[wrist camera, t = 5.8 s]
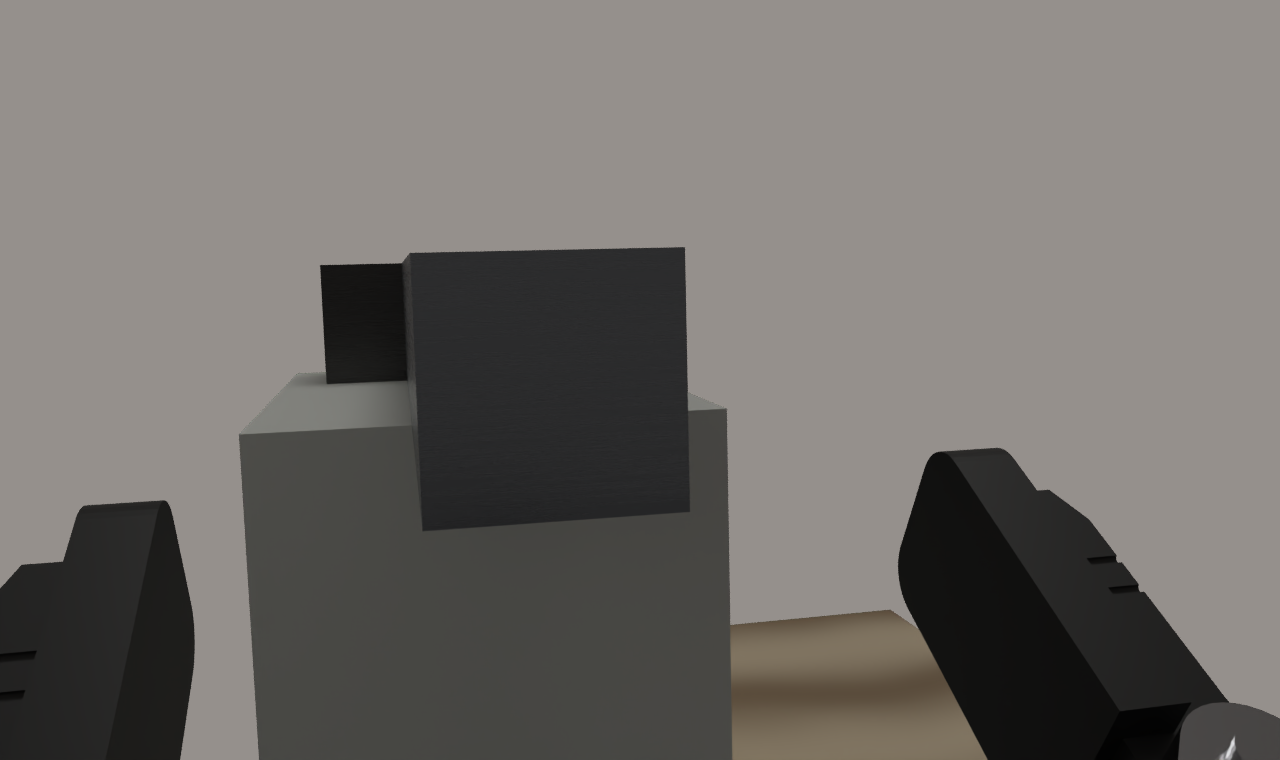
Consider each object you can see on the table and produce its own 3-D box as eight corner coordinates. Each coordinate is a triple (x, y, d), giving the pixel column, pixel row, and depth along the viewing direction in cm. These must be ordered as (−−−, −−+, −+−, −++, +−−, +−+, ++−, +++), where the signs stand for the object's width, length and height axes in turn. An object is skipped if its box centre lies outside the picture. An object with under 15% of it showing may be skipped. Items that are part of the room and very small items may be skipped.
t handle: (332, 373, 31) (327, 265, 31) (580, 362, 33) (577, 260, 32) (228, 546, 12) (209, 256, 11) (853, 499, 13) (853, 243, 13)
